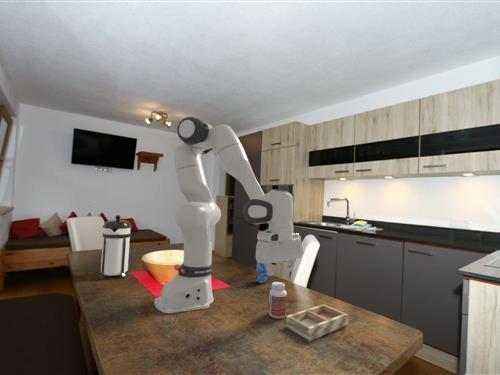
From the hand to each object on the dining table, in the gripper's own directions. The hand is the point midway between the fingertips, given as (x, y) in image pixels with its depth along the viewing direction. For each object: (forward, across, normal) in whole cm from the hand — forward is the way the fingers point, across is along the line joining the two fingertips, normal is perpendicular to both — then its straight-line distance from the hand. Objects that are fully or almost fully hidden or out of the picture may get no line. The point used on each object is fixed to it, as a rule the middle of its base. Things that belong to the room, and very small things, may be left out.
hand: (280, 273), depth 94 cm
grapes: (+15, -18, -33) cm, 40 cm away
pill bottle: (+15, 0, -1) cm, 15 cm away
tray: (+15, -6, +12) cm, 20 cm away
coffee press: (+13, +40, -78) cm, 89 cm away
